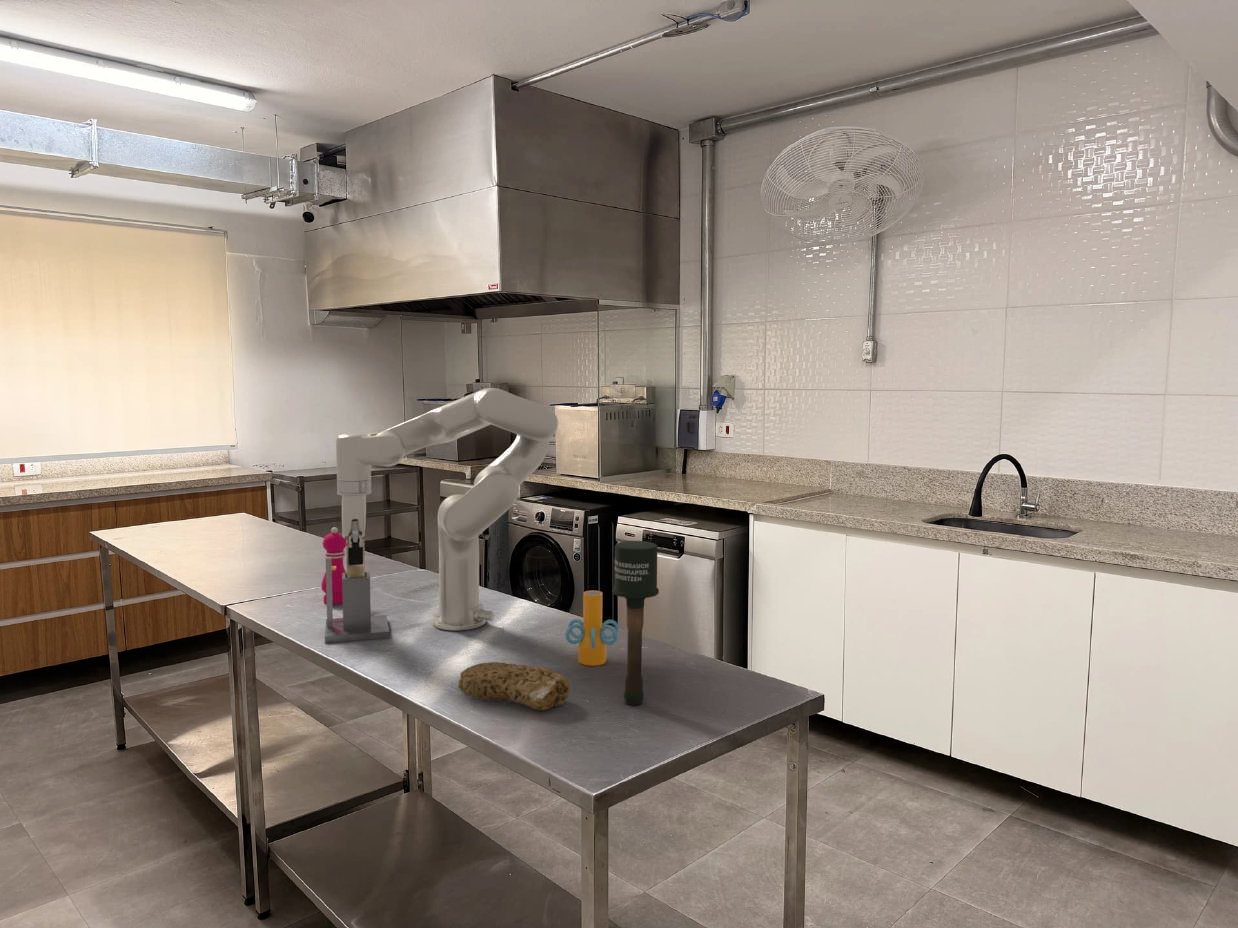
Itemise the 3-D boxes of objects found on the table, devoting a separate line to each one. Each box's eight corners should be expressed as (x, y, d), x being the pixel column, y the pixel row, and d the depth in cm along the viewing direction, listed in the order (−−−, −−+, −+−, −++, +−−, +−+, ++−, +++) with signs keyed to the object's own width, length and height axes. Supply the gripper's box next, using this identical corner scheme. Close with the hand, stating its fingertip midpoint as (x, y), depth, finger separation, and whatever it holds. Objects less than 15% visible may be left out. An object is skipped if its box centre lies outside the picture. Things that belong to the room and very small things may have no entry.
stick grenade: (601, 701, 154) (603, 544, 151) (633, 690, 160) (636, 538, 157) (633, 715, 148) (636, 551, 145) (666, 702, 154) (669, 544, 151)
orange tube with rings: (629, 659, 178) (630, 591, 176) (604, 674, 169) (604, 602, 167) (581, 649, 184) (582, 583, 182) (554, 663, 175) (555, 594, 173)
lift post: (365, 621, 197) (364, 539, 195) (366, 626, 193) (364, 542, 191) (347, 622, 196) (346, 539, 194) (347, 627, 192) (346, 543, 190)
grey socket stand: (386, 620, 204) (385, 548, 202) (389, 637, 190) (388, 561, 188) (326, 625, 199) (324, 551, 197) (324, 643, 186) (322, 564, 184)
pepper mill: (354, 598, 223) (353, 525, 221) (343, 605, 216) (341, 530, 214) (329, 597, 224) (327, 524, 222) (316, 604, 217) (314, 529, 215)
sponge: (574, 706, 156) (497, 663, 166) (576, 671, 153) (498, 630, 163) (527, 742, 146) (448, 694, 156) (529, 705, 143) (448, 659, 153)
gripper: (337, 483, 198) (339, 553, 200) (336, 493, 182) (338, 569, 184) (370, 482, 200) (371, 551, 202) (372, 492, 184) (373, 567, 186)
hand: (355, 559), depth 193 cm, fingers open, 9 cm apart
